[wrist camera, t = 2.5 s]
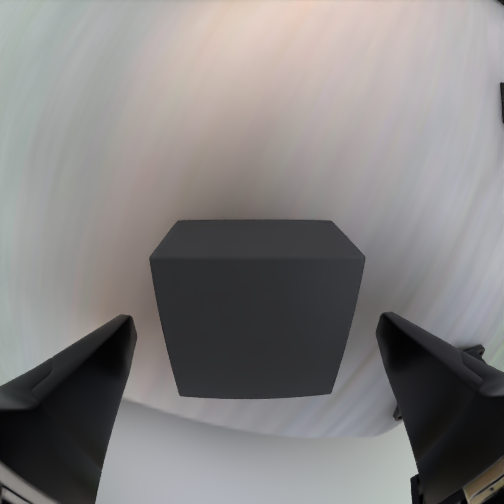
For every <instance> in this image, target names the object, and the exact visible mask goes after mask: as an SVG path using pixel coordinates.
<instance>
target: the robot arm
mask: <svg viewBox="0 0 504 504" xmlns="http://www.w3.org/2000/svg"><path fill="white" fill-rule="evenodd" d="M376 338H377V342H378V345H379V349H380V353H381V356H382V360H383V364H384V368H385V371H386V373H387V376H388V379H389V381H390V384H391V387H392V390H393V392H394V395H395V398H396V401H397V404H398V409H397V410H396V412H395V413H394V415H393V417H394V419H395V421H399V420H402V419H403V421H404V425H405V428H406V431H407V434H408V437H409V440H410V444H411V447H412V451H413V454H414V458H415V461H416V465H417V469H418V472H419V474H417V475H415V476H413V477H412V478H411V479H410V480H411V495H412V504H504V372H502V371H500V370H498V369H496V368H494V367H492V366H489V365H487V364H486V363H485V361H484V360H483V359H482V355H483V353H484V351H485V348H484V347H483V346H482V345H480V346H477V347H474V348H471V349H468V350H464V351H460V350H459V349H458V348H456V347H454V346H452V345H451V344H449V343H447V342H445V341H443V340H442V339H440V338H438V337H436V336H434V335H433V334H431V333H429V332H427V331H426V330H424V329H422V328H420V327H418V326H417V325H415V324H413V323H411V322H409V321H408V320H406V319H404V318H402V317H400V316H399V315H397V314H395V313H393V312H384V313H382V314H381V316H380V319H379V322H378V325H377V329H376ZM136 341H137V332H136V329H135V325H134V321H133V318H132V316H130V315H119V316H117V317H116V318H114V319H113V320H111V321H109V322H108V323H106V324H104V325H103V326H101V327H100V328H98V329H96V330H95V331H93V332H92V333H90V334H88V335H87V336H85V337H84V338H82V339H80V340H79V341H77V342H75V343H74V344H72V345H71V346H69V347H68V348H66V349H64V350H63V351H61V352H60V353H58V354H56V355H55V356H53V358H50V359H48V360H47V361H45V362H44V363H42V364H40V365H39V366H37V367H36V368H34V369H32V370H30V371H28V372H26V373H25V374H23V375H21V376H19V377H17V378H15V379H13V380H11V381H9V382H8V383H6V384H4V385H2V386H0V504H95V501H96V496H97V490H98V486H99V482H100V477H101V473H102V472H101V471H102V468H103V463H104V459H105V455H106V451H107V447H108V444H109V440H110V436H111V432H112V428H113V425H114V422H115V418H116V415H117V411H118V408H119V404H120V401H121V398H122V395H123V392H124V389H125V386H126V382H127V379H128V376H129V373H130V368H131V364H132V359H133V354H134V350H135V345H136Z"/></svg>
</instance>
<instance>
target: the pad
mask: <svg viewBox="0 0 504 504" xmlns="http://www.w3.org/2000/svg"><path fill="white" fill-rule="evenodd" d="M149 260H150V266H151V272H152V278H153V284H154V290H155V295H156V301H157V306H158V311H159V316H160V320H161V325H162V330H163V334H164V338H165V343H166V347H167V351H168V355H169V359H170V363H171V367H172V370H173V374H174V378H175V381H176V385H177V388H178V392H179V395H180V396H184V397H198V398H218V399H270V398H290V397H304V396H315V395H325V394H331V392H332V389H333V386H334V383H335V380H336V377H337V374H338V370H339V367H340V364H341V360H342V357H343V353H344V350H345V346H346V343H347V339H348V335H349V331H350V327H351V323H352V319H353V315H354V311H355V307H356V302H357V298H358V293H359V288H360V284H361V279H362V273H363V268H364V263H365V256H364V255H363V254H362V253H361V251H360V250H359V249H358V248H357V247H356V246H355V245H354V244H353V243H352V242H351V241H350V240H349V239H348V237H347V236H346V235H345V234H344V233H343V232H342V231H341V230H340V229H339V228H338V227H337V226H336V225H335V224H334V223H333V222H332V221H320V220H182V221H177V222H176V223H175V225H174V226H173V227H172V228H171V230H170V231H169V232H168V233H167V235H166V236H165V237H164V239H163V240H162V241H161V243H160V244H159V245H158V247H157V248H156V249H155V250H154V252H153V253H152V254H151V256H150V258H149Z"/></svg>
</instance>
